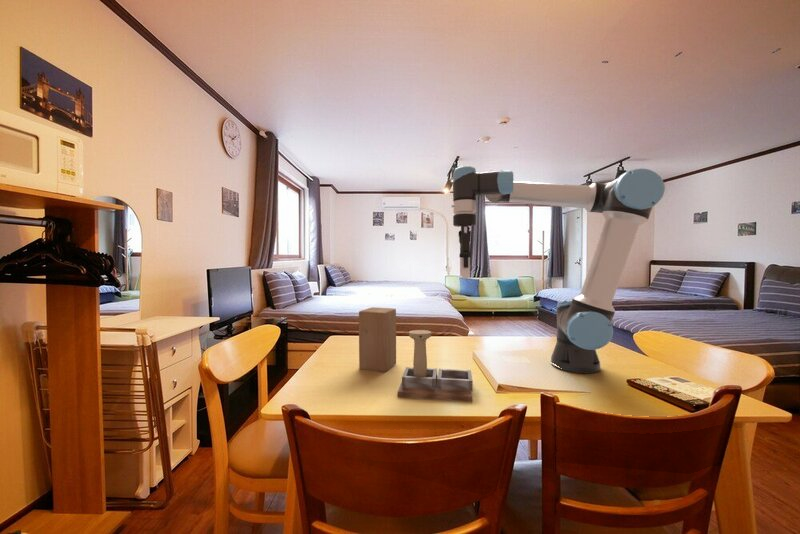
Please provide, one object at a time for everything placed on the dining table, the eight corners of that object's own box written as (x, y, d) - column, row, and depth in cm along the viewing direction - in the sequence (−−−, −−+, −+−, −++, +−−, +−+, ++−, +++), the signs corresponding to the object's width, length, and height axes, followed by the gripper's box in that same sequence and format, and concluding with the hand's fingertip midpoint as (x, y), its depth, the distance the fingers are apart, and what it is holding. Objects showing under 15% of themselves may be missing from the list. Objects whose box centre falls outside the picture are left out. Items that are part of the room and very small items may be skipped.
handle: (432, 386, 93) (431, 333, 93) (409, 386, 93) (409, 333, 93) (430, 379, 98) (430, 330, 98) (408, 379, 98) (408, 330, 98)
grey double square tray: (470, 381, 100) (470, 367, 100) (473, 401, 86) (473, 384, 86) (405, 378, 103) (404, 364, 103) (397, 396, 90) (397, 380, 90)
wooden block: (358, 369, 112) (358, 311, 112) (371, 360, 122) (371, 307, 121) (385, 372, 109) (384, 312, 108) (396, 363, 118) (396, 308, 117)
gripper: (452, 218, 123) (453, 275, 124) (453, 209, 99) (454, 279, 99) (473, 218, 122) (473, 275, 123) (479, 208, 98) (479, 279, 98)
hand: (464, 277), depth 111 cm, fingers open, 13 cm apart
